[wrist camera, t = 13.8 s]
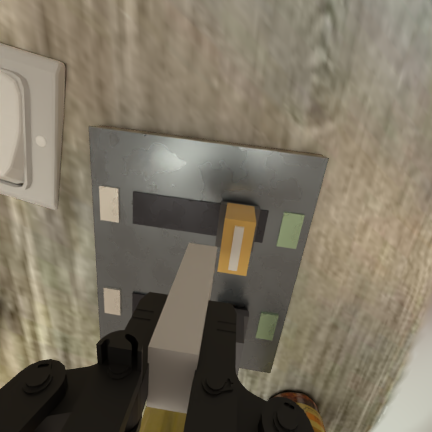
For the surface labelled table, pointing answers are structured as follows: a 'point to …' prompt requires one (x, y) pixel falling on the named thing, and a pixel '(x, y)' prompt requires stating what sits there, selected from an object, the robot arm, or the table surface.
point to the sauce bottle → (306, 408)
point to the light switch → (31, 125)
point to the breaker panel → (198, 223)
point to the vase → (162, 421)
